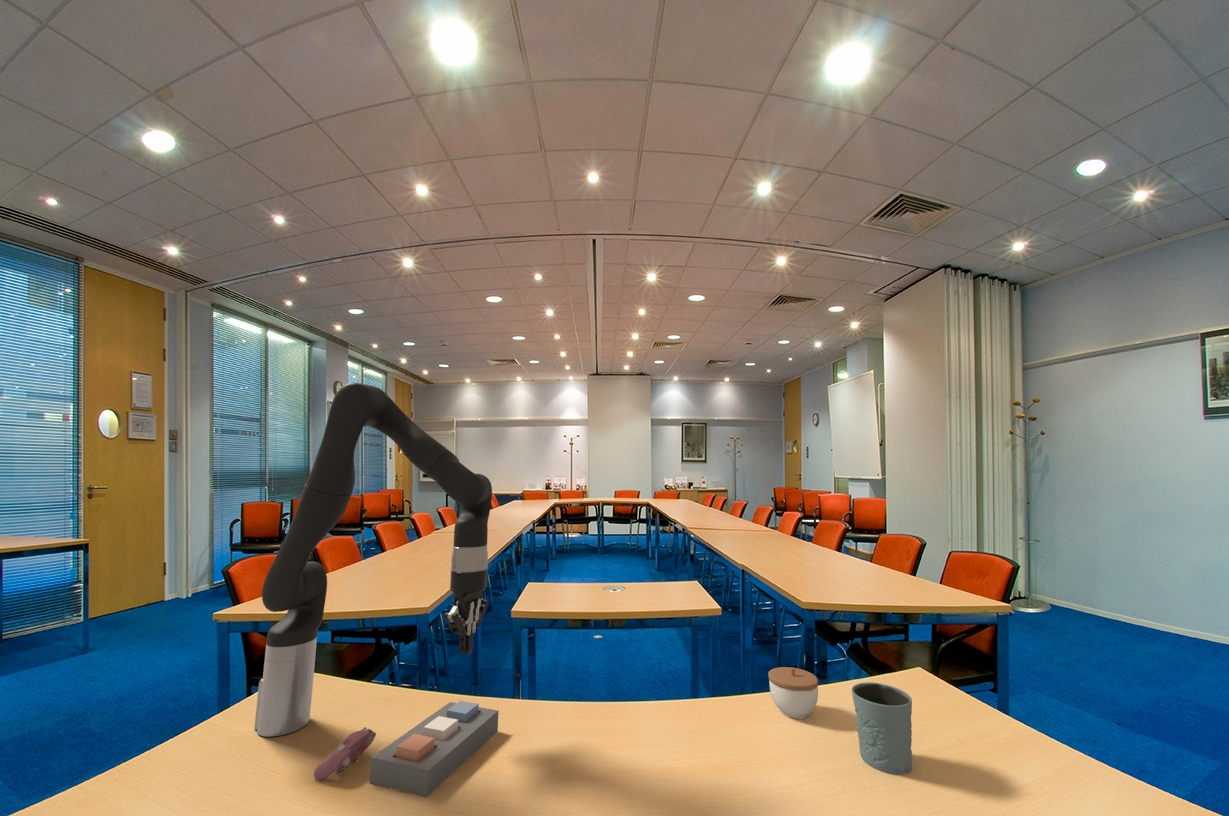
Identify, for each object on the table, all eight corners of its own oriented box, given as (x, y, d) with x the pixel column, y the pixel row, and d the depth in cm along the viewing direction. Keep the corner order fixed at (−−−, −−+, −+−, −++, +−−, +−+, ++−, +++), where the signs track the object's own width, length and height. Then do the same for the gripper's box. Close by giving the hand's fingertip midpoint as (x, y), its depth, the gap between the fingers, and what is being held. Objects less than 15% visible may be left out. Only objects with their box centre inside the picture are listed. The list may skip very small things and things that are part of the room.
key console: (369, 782, 83) (371, 757, 84) (449, 721, 104) (450, 702, 105) (427, 796, 80) (428, 770, 80) (497, 731, 100) (498, 710, 101)
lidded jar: (762, 702, 114) (760, 660, 115) (804, 700, 115) (803, 658, 117) (782, 725, 104) (780, 678, 105) (829, 722, 105) (827, 676, 106)
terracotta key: (395, 762, 84) (396, 746, 85) (413, 748, 88) (414, 733, 89) (416, 766, 83) (417, 751, 83) (434, 752, 87) (434, 737, 87)
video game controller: (327, 794, 83) (346, 756, 83) (308, 778, 84) (327, 741, 84) (367, 761, 92) (384, 727, 92) (350, 747, 93) (366, 714, 94)
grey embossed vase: (909, 752, 94) (904, 686, 95) (924, 783, 84) (918, 709, 86) (852, 742, 97) (848, 679, 99) (859, 771, 87) (855, 700, 89)
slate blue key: (446, 723, 97) (446, 710, 98) (459, 713, 102) (460, 700, 102) (465, 727, 96) (465, 713, 96) (478, 716, 100) (478, 703, 101)
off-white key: (422, 741, 91) (423, 727, 91) (438, 729, 95) (438, 716, 95) (442, 745, 89) (443, 731, 90) (457, 733, 94) (458, 719, 94)
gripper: (472, 561, 111) (468, 640, 108) (434, 571, 98) (429, 662, 96) (501, 563, 108) (498, 644, 106) (466, 574, 96) (462, 666, 93)
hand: (465, 652), depth 101 cm, fingers closed
